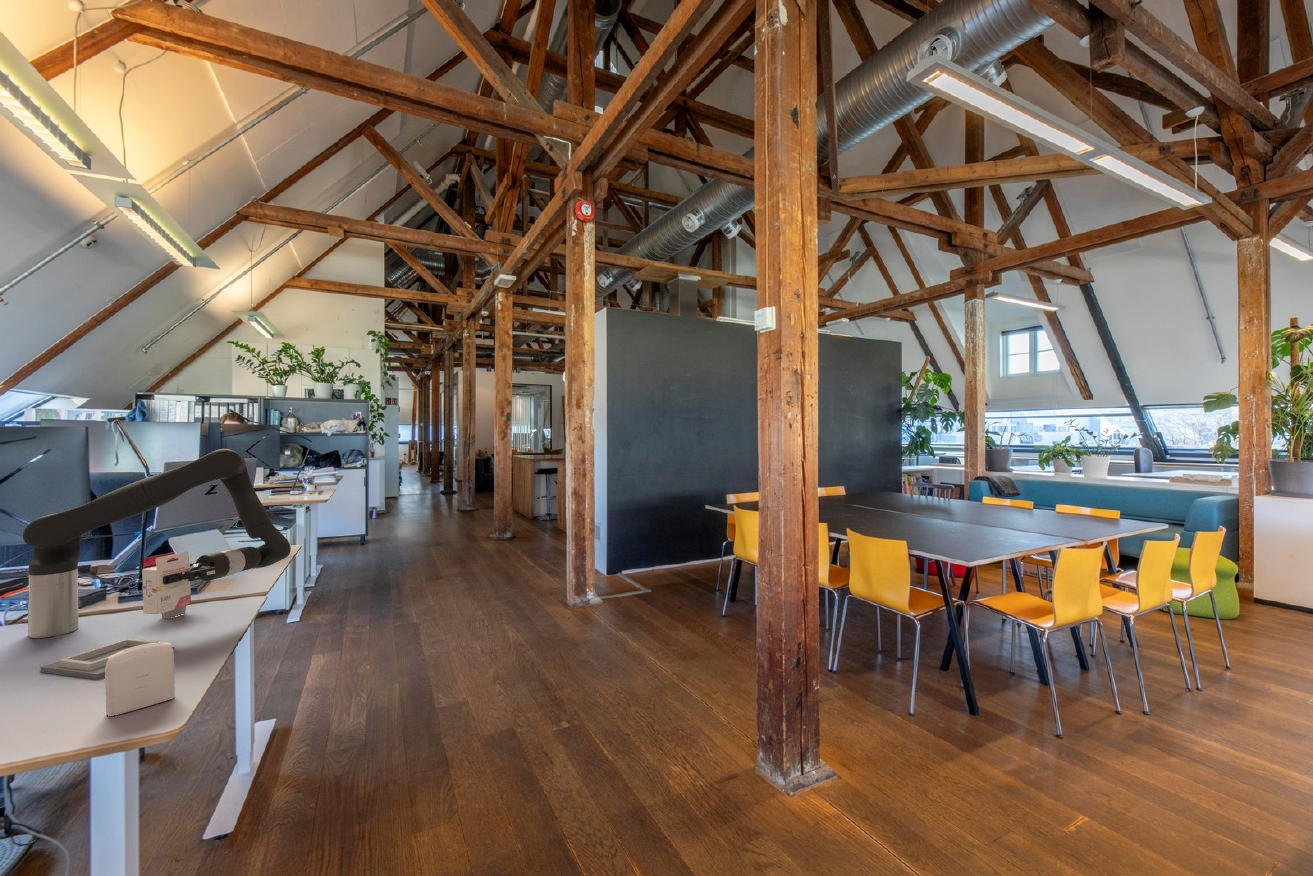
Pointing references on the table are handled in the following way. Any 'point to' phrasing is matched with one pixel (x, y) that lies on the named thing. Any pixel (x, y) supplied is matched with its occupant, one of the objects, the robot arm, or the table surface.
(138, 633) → the table surface
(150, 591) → the ink cartridge box
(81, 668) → the refill dock
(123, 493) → the robot arm
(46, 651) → the table surface
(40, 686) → the table surface
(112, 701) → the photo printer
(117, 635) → the table surface
